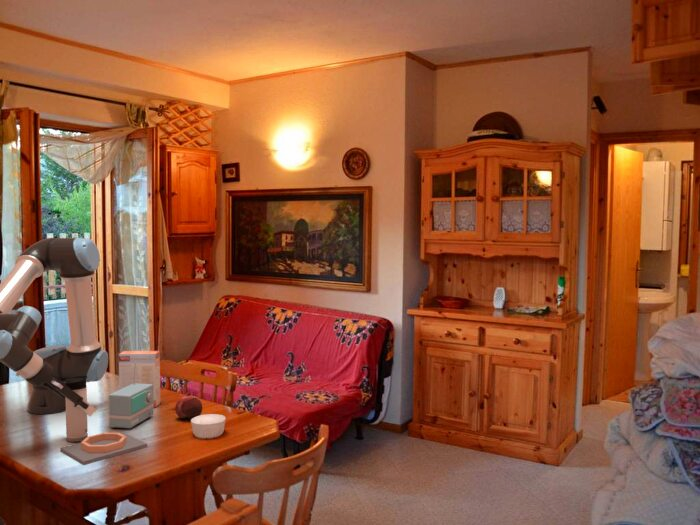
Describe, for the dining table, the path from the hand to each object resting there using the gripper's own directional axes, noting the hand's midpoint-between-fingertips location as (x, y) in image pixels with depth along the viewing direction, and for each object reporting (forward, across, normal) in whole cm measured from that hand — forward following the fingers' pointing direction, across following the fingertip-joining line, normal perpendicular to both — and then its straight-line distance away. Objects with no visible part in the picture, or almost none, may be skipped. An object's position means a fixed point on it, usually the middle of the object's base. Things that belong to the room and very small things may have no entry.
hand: (88, 410), depth 202 cm
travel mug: (+4, 0, -9) cm, 9 cm away
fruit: (+30, +7, +17) cm, 35 cm away
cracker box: (+27, -20, +14) cm, 37 cm away
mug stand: (+5, +14, -7) cm, 17 cm away
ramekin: (+27, +26, +14) cm, 40 cm away
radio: (+19, -3, +6) cm, 20 cm away
